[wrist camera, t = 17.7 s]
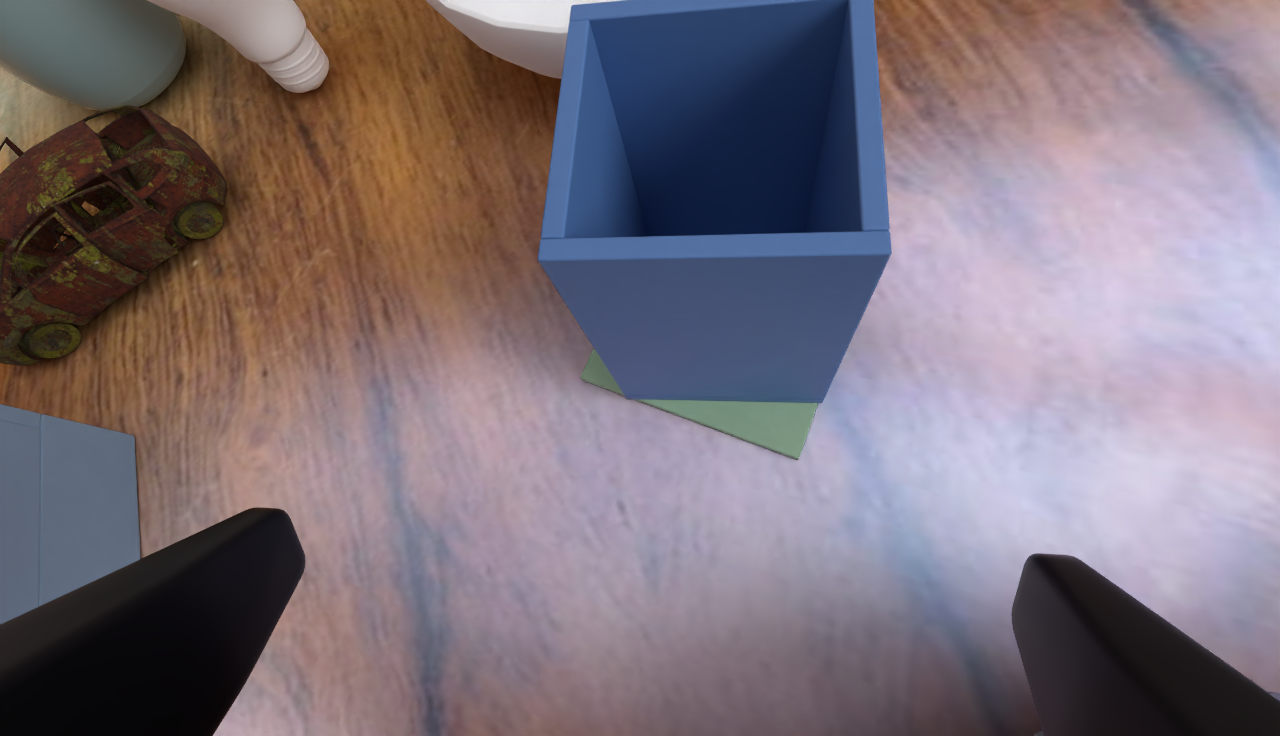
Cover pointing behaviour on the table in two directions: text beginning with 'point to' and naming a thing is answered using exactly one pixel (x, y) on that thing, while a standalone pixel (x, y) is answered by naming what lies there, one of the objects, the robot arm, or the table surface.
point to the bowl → (516, 29)
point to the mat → (729, 414)
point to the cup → (92, 49)
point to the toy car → (94, 224)
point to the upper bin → (718, 192)
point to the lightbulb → (263, 36)
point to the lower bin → (62, 507)
